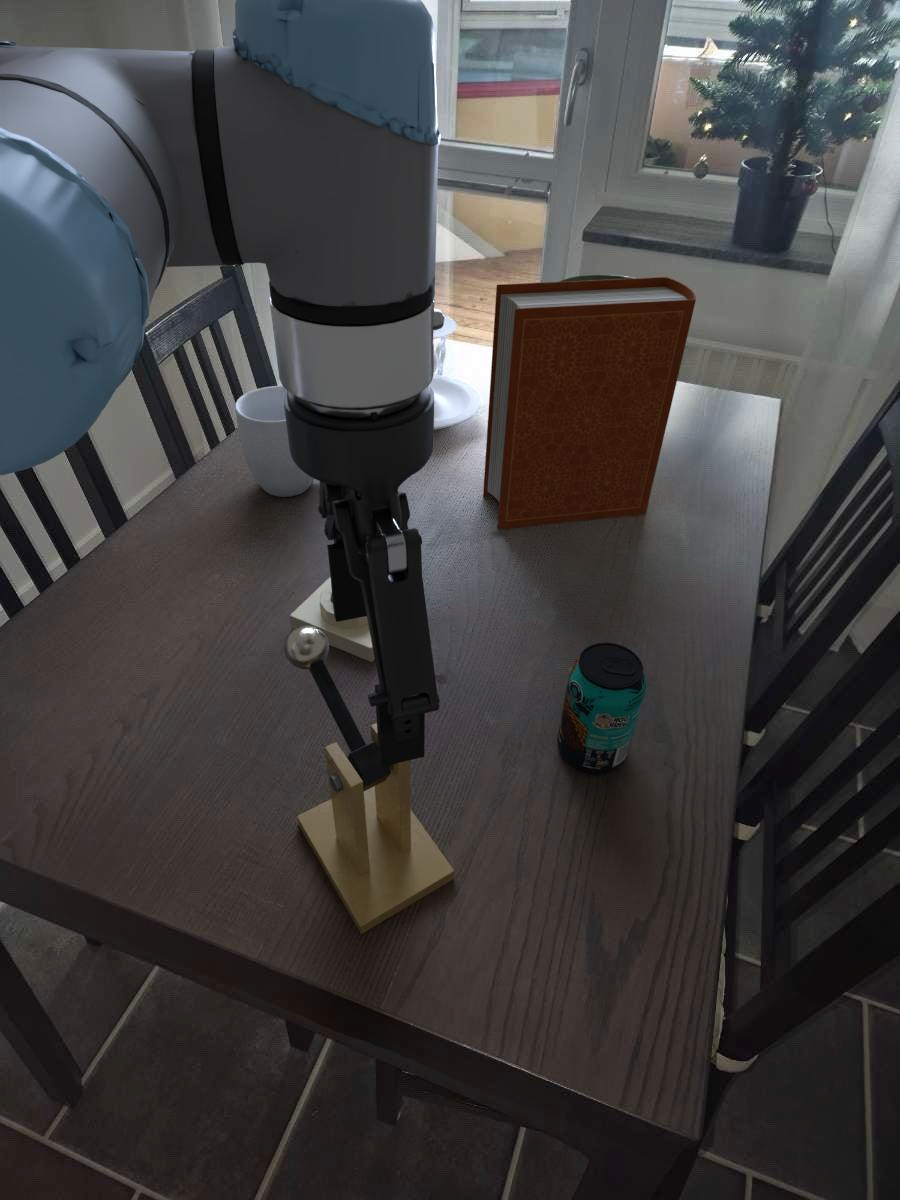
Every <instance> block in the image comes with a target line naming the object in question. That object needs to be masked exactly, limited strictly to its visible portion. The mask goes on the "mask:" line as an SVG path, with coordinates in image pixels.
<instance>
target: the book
mask: <svg viewBox="0 0 900 1200" xmlns="http://www.w3.org/2000/svg"><path fill="white" fill-rule="evenodd" d="M495 289H496V290H495V305H494V306H495V307H494V322H493V324H494V325H493V335H492V353H491V367H490V380H489V381H490V384H489V399H488V412H487V413H488V415H487V430H486V443H485V444H486V445H485V460H484V477H483V489H482V491H483V493H482V498H483V499H488V498H489V499H490V498H495V499H496V500H497V502H498V513H497V522H496V523H497V524H496V529H497V530H505V529H506V530H507V529H518V528H526V527H536V526H545V525H553V524H564V523H565V524H566V523H572V522H573V523H574V522H582V521H583V522H584V521H592V520H593V521H594V520H602V519H612V518H621V517H622V518H623V517H630V516H631V517H632V516H640V515H641V516H642V515H646V514H647V511H648V507H649V503H650V498H651V495H652V489H653V485H654V481H655V477H656V474H657V473H656V472H657V467H658V463H659V460H660V455H661V450H662V446H663V443H664V438H665V434H666V430H667V426H668V421H669V416H670V412H671V408H672V404H673V400H674V395H675V391H676V387H677V382H678V377H679V373H680V370H681V365H682V361H683V357H684V353H685V348H686V344H687V340H688V336H689V331H690V327H691V323H692V318H693V315H694V310H695V305H696V301H697V296H696V294H695V292H694V291H693V290H692V289H691V287H689V286H688V285H686V284H684V283H682V282H680V281H678V280H676V279H673V278H671V277H668V276H655V277H632V278H630V279H608V280H586V281H565V282H559V281H545V282H524V283H523V282H522V283H504V284H503V283H501V284H500V283H499V284H496V288H495Z"/></svg>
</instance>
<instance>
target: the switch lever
mask: <svg viewBox="0 0 900 1200" xmlns="http://www.w3.org/2000/svg"><path fill="white" fill-rule="evenodd" d="M329 653H330V645H329V642H328V639H327V637H326V635H325V634H324V633H323V632H322V631H321V630H320V629H318V628H316V627H314V626H308V625H306V626H300V627H298V628H296V629H294V630H292V631H290V632H289V634H288V635H287V637H286V639H285V641H284V654H285V657H286V659H287V660H288V661H289V663H290V664H292V666H294V667H295V668H298V669H300V670H309V672H310V674H311V676H312V678H313V680H314V682H315V685H316V686H317V689H318V690H319V692H320V694H321V696H322V698H323V700H324V702H325V704H326V705H327V708H328V710H329V712H330V713H331V716H332V718H333V720H334V721H335V724H336V725H337V728H338V729H339V732H340V733H341V736H342V737H343V740H344V742H345V743H346V745H347V747H348V750H349V751H350V752H349V754H348V756H347V759H348V760H349V762H350V763H351V765H352V766H353V768H354V769H355V771H356V772H357V774H358V775H359V776H360V778H361V779H362V781H363V789H364V791H366V790H368V789H370V788H372V787H374V786H376V785H378V784H380V783H382V782H384V781H385V780H386V779H387V778H388V776H389V775H390V774H391V771H390V769H389V768H388V766H384V767H382V766H381V763H380V760H379V752H378V746H377V744H376V743H375V741H373V742H372V741H371V742H370V743H366V742H365V740H364V737H363V736H362V733H361V732H360V730H359V728H358V726H357V724H356V722H355V720H354V718H353V715H352V714H351V712H350V710H349V709H348V707H347V705H346V702H345V701H344V698H343V697H342V695H341V693H340V691H339V689H338V687H337V685H336V684H335V682H334V680H333V677H332V676H331V673H330V672H329V670H328V668H327V666H326V664H325V661H326V659H327V657H328V655H329Z"/></svg>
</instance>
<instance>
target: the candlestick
mask: <svg viewBox="0 0 900 1200" xmlns="http://www.w3.org/2000/svg"><path fill="white" fill-rule="evenodd" d="M444 317H445V318H444V325H443V327H442V328H440V329H438V330H433V340H434V339H440V340H439V341H438V342H437V344H436V348H435V349H434V372H433V378H432V381H431V383H430V384H429V385H430V386H431V388H432V390H433V392H434V431H437V430H441V429H446V428H449V427H452V426H455V425H458V424H461V423H464V422H466V421H468V420H470V419H472V418H473V417H474V416H475V415H477V413H479V411H480V410H481V408H482V406H483V398H482V396H481V394H480V393H479V391H478V390H477V389H476V388H475V387H474V386H472V385H471V384H469V383H467V382H465V381H463V380H461V379H459V378H455V377H452V376H449V375H444V374H443V372H444V364H445V360H446V354H447V353H446V350H447V347H446V341H447V338H448V336H449V335H452V334H454V332H455V331H456V330H457V328H458V324H457V323H456V321H455V320H454V319H453V318H451V317H449V316H446V315H444ZM436 370H437V373H435V372H436Z"/></svg>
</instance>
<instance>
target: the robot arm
mask: <svg viewBox="0 0 900 1200" xmlns="http://www.w3.org/2000/svg"><path fill="white" fill-rule="evenodd" d="M234 21H235V22H234V23H235V24H234V25H235V27H234V30H233V31H232V42H233V46H216V47H215V48H214V49H197V48H196V51H195V50H194V51H188V50H187V51H185V50H157V49H156V50H154V49H153V50H151V49H127V48H126V49H125V48H124V49H123V48H121V49H120V48H101V47H99V48H98V47H97V48H96V47H67V46H37V45H36V46H35V45H31V46H30V45H19V44H18V43H17V42H14V41H10V40H9V41H8V40H7V41H3V40H2V41H0V476H5V475H9V474H13V473H18V472H21V471H24V470H29V469H31V468H33V467H37V466H39V465H42V464H45V463H47V462H49V461H50V460H52V459H54V458H56V457H58V456H60V455H61V454H62V453H64V452H65V451H67V450H68V449H69V448H71V447H72V446H74V445H75V444H76V443H77V442H78V441H80V440H81V438H82V437H83V436H84V435H85V434H87V432H88V431H89V430H90V429H91V428H92V427H93V425H94V424H95V422H96V421H97V420H98V418H99V417H100V415H101V413H102V412H103V411H104V409H105V408H106V406H107V405H108V404H109V402H110V401H111V399H112V397H113V395H114V393H115V392H116V390H117V389H118V388H119V387H120V386H121V385H122V384H123V382H124V381H125V380H126V378H127V377H128V376H129V374H130V373H131V371H132V370H133V368H134V364H135V361H136V359H137V357H138V356H139V354H140V352H141V351H142V349H143V345H144V338H145V331H146V330H145V329H146V322H147V320H148V318H149V316H150V306H151V303H152V300H153V298H154V295H155V292H156V290H157V288H158V287H159V285H160V283H161V281H162V278H163V277H164V273H165V271H166V268H176V267H177V268H179V267H183V268H184V267H212V266H213V267H215V266H220V267H221V266H243V265H244V264H263V265H265V268H266V272H267V275H268V279H269V280H268V287H269V297H268V298H269V299H268V300H269V307H270V315H271V324H272V330H273V331H272V332H273V338H274V347H275V355H276V363H277V371H278V380H279V382H280V383H281V386H283V387H284V388H285V389H286V391H285V394H284V398H283V401H284V409H285V417H286V425H287V433H288V441H289V449H290V454H291V457H292V459H293V461H294V462H295V464H296V465H297V466H298V467H299V468H300V469H301V470H302V471H303V472H304V473H306V474H307V475H309V476H310V477H312V478H314V479H313V480H317V481H319V493H318V494H319V495H318V496H319V498H318V499H319V500H318V502H319V506H318V507H317V508H318V513H319V515H320V516H321V519H325V524H324V529H323V532H324V536H325V537H326V538H327V541H333V543H331V544H327V545H326V546H327V555H328V556H327V557H328V567H329V577H331V587H332V598H333V608H334V616H335V619H336V622H339V621H344V620H349V619H354V618H360V617H365V616H367V620H368V625H369V631H370V636H371V641H372V647H373V652H374V657H375V659H374V662H375V667H376V672H377V673H376V674H377V679H378V683H377V684H374V692H373V693H369V694H367V698H368V702H369V705H370V707H371V708H372V707H375V716H376V723H377V735H378V752H379V760H380V763H381V766H382V767H384V766H388V765H392V764H396V763H401V762H405V761H409V760H410V761H412V760H416V759H417V760H418V759H420V758H424V757H425V749H426V748H425V747H426V746H425V742H426V740H425V739H426V737H425V735H426V734H425V733H426V732H425V731H426V727H425V726H426V714H428V713H432V712H437V711H439V709H440V703H441V701H440V696H439V694H438V687H437V686H438V685H437V679H436V672H435V671H436V670H435V663H434V655H433V648H432V641H431V632H430V625H429V617H428V610H427V609H428V608H427V602H426V594H425V586H424V578H423V561H422V560H423V557H422V545H423V539H422V535H421V534H420V533H419V529H418V528H417V527H413V528H409V525H408V522H409V520H410V518H411V511H410V505H409V500H408V496H407V493H406V491H405V490H404V489H403V490H399V487H401V485H402V484H403V483H404V482H405V481H407V480H408V479H409V478H410V477H412V476H413V475H415V474H416V473H418V472H419V471H421V470H422V469H423V468H424V467H425V466H426V465H427V464H428V462H429V461H430V459H431V457H432V455H433V451H434V443H435V440H434V439H435V430H434V392H433V390H432V388H431V386H430V385H429V384H430V383H431V381H432V378H433V372H434V350H435V345H434V339H433V330H438V329H440V328H442V327H443V325H444V318H445V317H444V316H445V315H444V313H443V312H442V309H439V308H435V295H436V260H437V259H436V258H437V257H436V256H437V255H436V254H437V221H438V220H437V216H438V215H437V214H438V213H437V212H438V181H439V179H438V177H439V146H441V136H442V133H441V132H440V130H439V126H438V104H437V103H438V102H437V101H438V100H437V73H436V72H437V71H436V69H437V68H436V66H437V65H436V34H435V31H436V30H435V26H434V22H433V18H432V15H431V13H430V12H429V10H428V9H427V7H426V5H425V3H424V2H423V1H422V0H235V2H234ZM434 373H435V372H434Z"/></svg>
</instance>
